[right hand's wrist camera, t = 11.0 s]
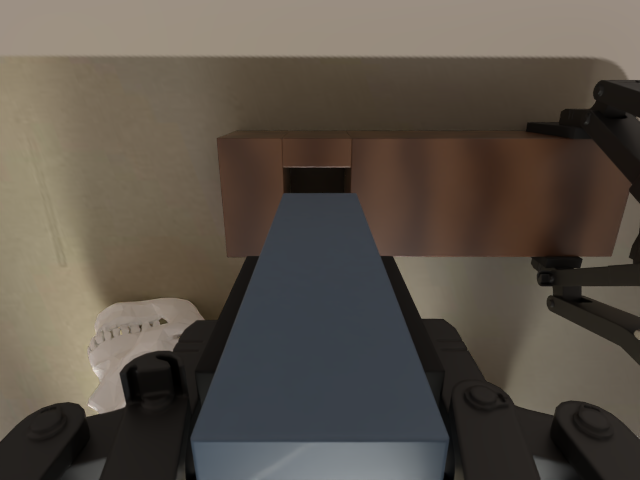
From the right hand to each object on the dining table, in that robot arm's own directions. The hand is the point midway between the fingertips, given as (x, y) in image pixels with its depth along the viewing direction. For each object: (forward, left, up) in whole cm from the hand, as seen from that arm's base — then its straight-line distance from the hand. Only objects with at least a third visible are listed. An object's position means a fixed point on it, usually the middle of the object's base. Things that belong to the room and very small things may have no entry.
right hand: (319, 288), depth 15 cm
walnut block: (-7, -4, -21) cm, 23 cm away
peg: (0, 0, -7) cm, 7 cm away
